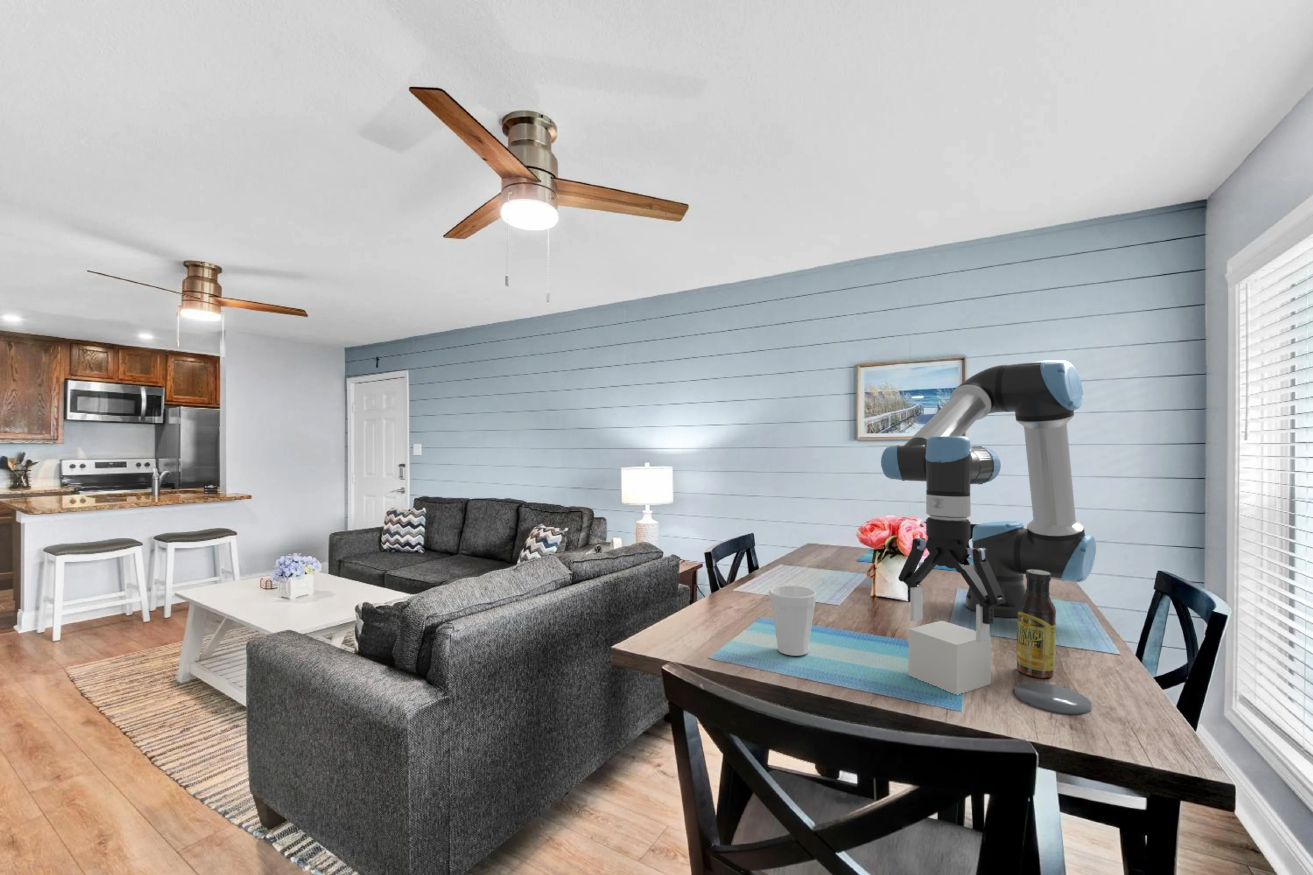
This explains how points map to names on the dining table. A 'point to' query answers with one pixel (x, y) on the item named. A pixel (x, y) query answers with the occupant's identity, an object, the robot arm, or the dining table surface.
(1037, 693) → the dark grey disc
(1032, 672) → the sauce bottle
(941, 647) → the white block
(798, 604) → the cup
